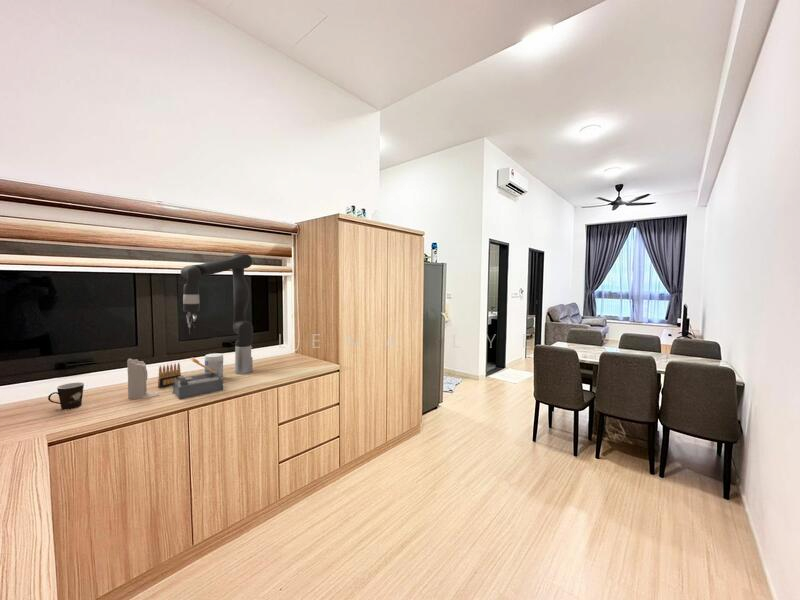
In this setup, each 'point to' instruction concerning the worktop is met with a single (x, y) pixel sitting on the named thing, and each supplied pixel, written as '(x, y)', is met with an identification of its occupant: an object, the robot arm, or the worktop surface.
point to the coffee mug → (69, 395)
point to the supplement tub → (214, 363)
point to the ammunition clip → (168, 375)
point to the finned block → (197, 385)
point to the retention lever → (202, 365)
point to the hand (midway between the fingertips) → (191, 333)
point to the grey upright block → (138, 380)
